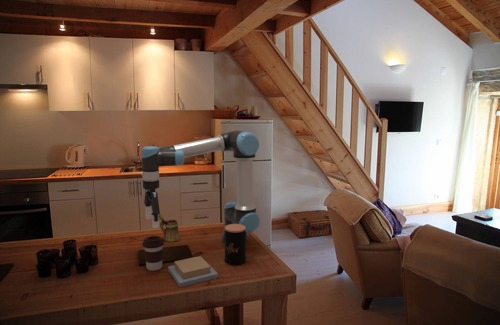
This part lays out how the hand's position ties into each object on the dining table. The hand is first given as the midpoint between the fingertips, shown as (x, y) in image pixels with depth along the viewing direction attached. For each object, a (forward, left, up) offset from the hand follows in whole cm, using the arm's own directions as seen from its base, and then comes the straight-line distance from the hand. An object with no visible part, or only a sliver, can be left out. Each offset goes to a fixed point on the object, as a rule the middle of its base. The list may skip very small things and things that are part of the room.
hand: (152, 223), depth 165 cm
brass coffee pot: (-16, -32, -23) cm, 42 cm away
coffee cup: (0, 0, -23) cm, 23 cm away
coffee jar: (-38, +12, -23) cm, 46 cm away
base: (-14, +15, -22) cm, 30 cm away
